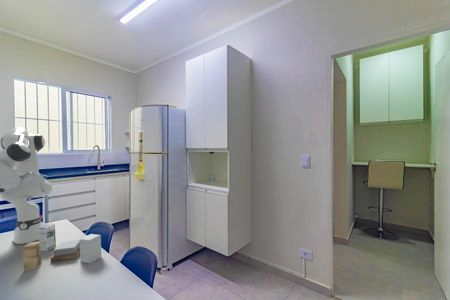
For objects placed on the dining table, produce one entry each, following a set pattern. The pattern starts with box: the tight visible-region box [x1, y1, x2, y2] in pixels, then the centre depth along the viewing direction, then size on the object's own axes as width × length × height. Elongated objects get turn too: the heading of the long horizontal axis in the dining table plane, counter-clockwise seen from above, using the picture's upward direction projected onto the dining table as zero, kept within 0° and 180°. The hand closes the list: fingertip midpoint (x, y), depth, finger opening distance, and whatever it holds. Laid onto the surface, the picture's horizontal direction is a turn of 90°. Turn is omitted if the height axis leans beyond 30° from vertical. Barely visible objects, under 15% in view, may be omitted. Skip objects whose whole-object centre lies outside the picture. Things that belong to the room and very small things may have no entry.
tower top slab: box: [52, 239, 80, 256], centre depth 122 cm, size 10×10×4 cm
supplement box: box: [78, 233, 102, 264], centre depth 117 cm, size 7×7×13 cm
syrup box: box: [38, 223, 57, 252], centre depth 131 cm, size 6×6×14 cm
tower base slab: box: [50, 248, 80, 264], centre depth 122 cm, size 12×12×4 cm
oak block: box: [22, 241, 42, 271], centre depth 110 cm, size 5×5×12 cm
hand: (38, 194), depth 119 cm, fingers open, 8 cm apart
